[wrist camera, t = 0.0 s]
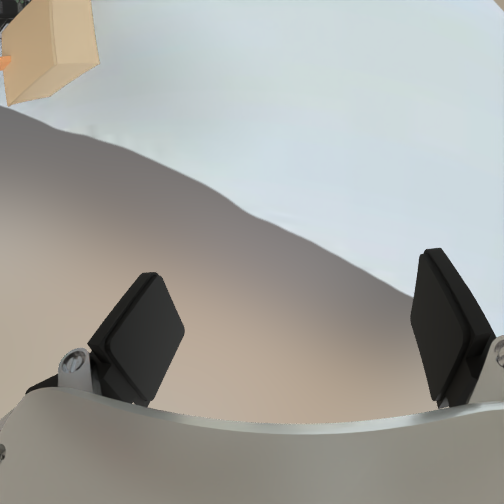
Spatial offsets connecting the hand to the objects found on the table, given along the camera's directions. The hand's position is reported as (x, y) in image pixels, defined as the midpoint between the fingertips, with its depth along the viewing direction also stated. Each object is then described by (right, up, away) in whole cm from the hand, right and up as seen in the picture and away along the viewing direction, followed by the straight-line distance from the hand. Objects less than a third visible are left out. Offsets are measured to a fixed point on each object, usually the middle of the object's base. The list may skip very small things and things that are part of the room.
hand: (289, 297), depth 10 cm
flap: (-36, +33, +13) cm, 51 cm away
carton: (-34, +38, +21) cm, 56 cm away
